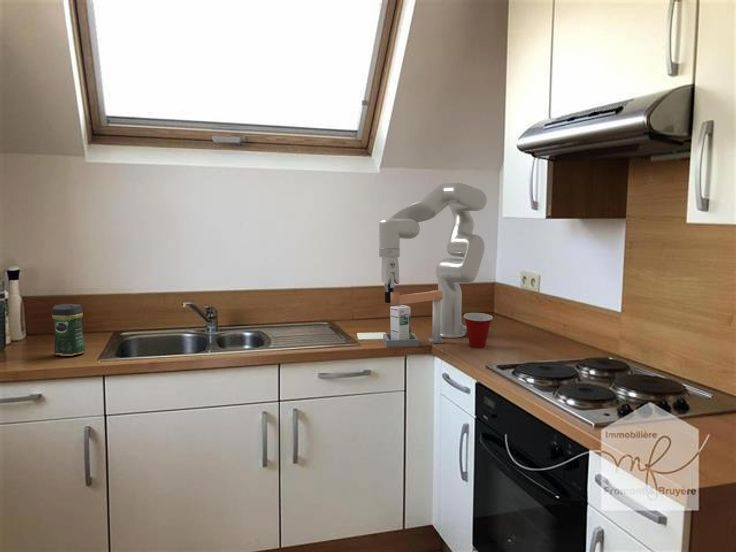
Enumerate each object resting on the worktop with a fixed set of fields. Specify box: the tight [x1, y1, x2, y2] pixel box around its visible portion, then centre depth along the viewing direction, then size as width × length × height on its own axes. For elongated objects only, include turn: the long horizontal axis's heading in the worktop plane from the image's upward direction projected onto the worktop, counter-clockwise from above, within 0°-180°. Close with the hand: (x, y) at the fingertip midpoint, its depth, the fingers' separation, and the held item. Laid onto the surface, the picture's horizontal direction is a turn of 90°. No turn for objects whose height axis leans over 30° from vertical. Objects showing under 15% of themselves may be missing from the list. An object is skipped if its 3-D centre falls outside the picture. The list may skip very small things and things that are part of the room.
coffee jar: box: [51, 303, 86, 354], centre depth 210 cm, size 10×8×19 cm
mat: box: [356, 331, 387, 341], centre depth 239 cm, size 12×12×1 cm
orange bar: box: [390, 289, 442, 306], centre depth 220 cm, size 25×4×5 cm, turn 128°
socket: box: [382, 300, 445, 348], centre depth 226 cm, size 23×12×16 cm, turn 94°
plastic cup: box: [463, 312, 494, 349], centre depth 219 cm, size 11×11×12 cm
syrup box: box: [389, 304, 412, 340], centre depth 226 cm, size 6×6×14 cm
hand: (389, 302), depth 217 cm, fingers closed
